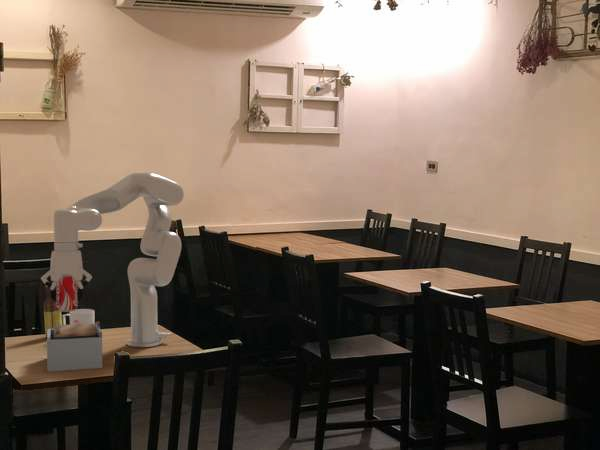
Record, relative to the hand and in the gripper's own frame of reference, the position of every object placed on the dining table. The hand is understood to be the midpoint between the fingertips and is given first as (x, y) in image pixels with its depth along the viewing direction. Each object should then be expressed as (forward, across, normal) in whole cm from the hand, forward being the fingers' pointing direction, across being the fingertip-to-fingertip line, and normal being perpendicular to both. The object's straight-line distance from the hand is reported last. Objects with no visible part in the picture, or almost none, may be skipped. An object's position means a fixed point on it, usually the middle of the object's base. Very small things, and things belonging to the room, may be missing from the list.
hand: (66, 300), depth 261 cm
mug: (+21, -4, -34) cm, 40 cm away
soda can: (+3, 0, 0) cm, 3 cm away
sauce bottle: (+21, +5, -42) cm, 47 cm away
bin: (+21, -2, 0) cm, 21 cm away
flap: (+10, -2, 0) cm, 11 cm away
